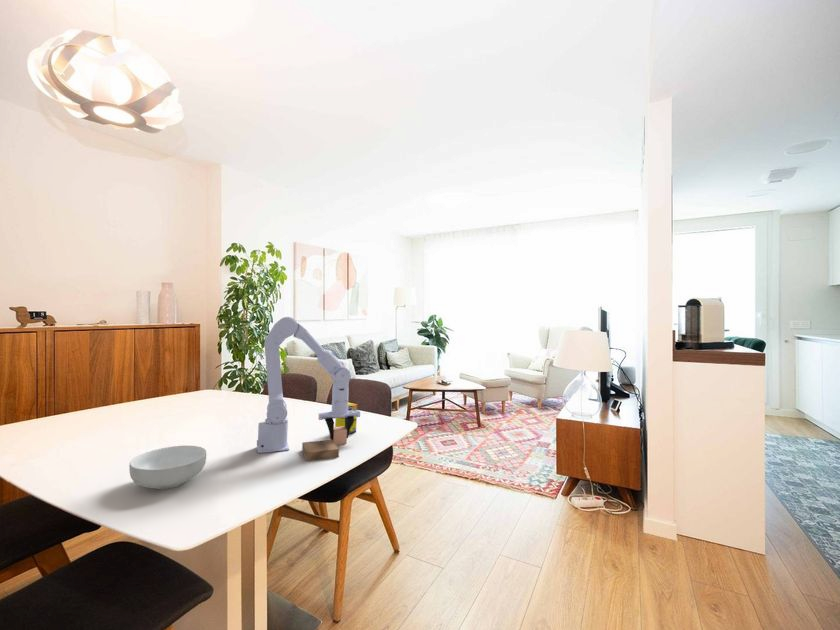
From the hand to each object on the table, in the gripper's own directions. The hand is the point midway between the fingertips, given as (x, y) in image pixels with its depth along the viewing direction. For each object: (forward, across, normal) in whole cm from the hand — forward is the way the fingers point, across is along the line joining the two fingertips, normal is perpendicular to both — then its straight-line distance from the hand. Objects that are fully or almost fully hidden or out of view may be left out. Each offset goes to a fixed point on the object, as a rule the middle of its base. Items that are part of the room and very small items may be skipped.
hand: (338, 438), depth 134 cm
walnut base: (+1, -8, -9) cm, 12 cm away
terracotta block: (+1, 0, 0) cm, 1 cm away
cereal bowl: (+2, -48, -18) cm, 51 cm away
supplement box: (+2, +5, +11) cm, 12 cm away
